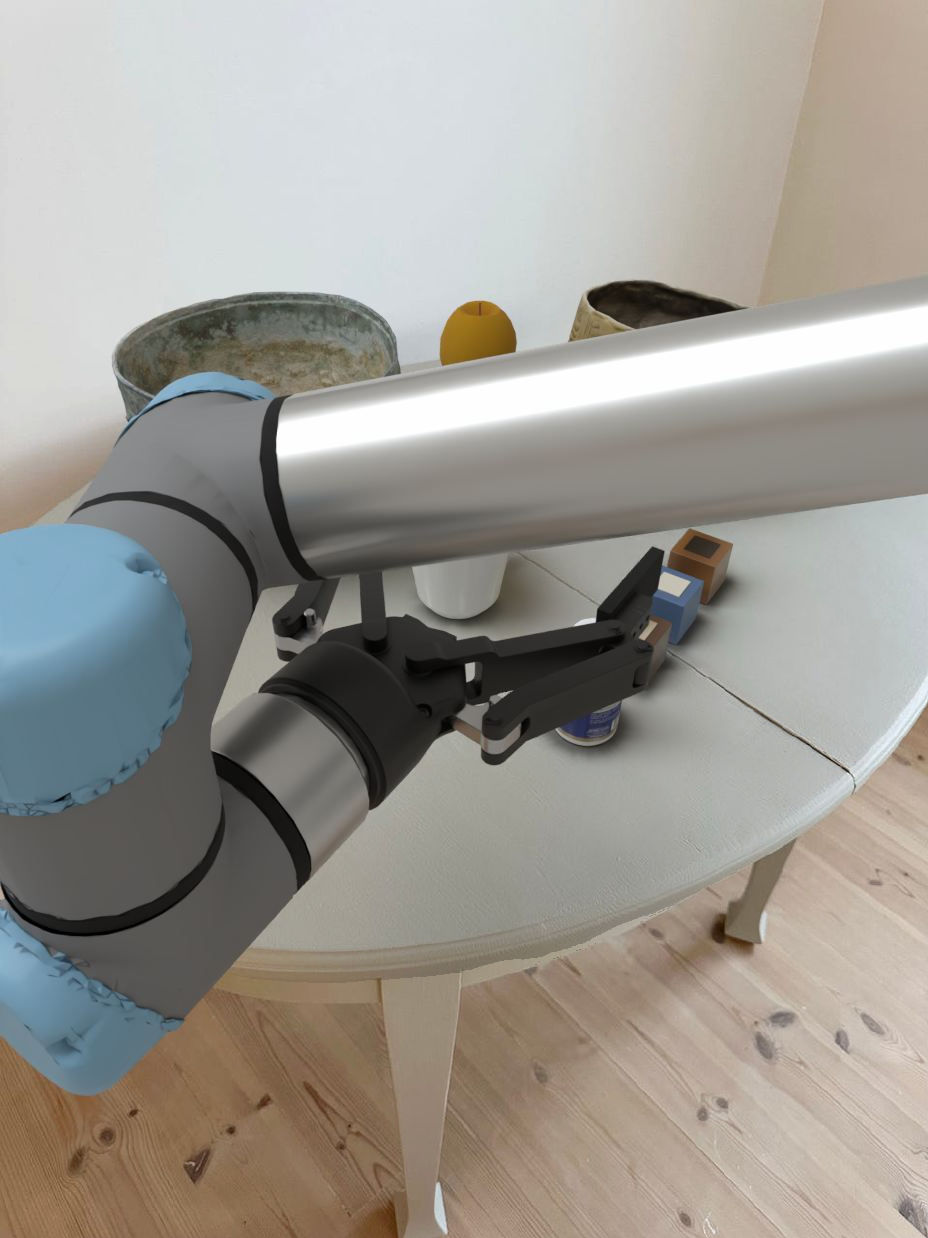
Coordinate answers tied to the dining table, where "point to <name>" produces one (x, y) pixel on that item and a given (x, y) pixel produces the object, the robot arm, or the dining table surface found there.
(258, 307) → the decorative bowl
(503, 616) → the dining table surface
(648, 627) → the walnut block
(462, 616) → the mug
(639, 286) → the clay pot
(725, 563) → the oak end block
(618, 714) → the pill bottle
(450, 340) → the apple
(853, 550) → the dining table surface
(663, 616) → the blue painted block
